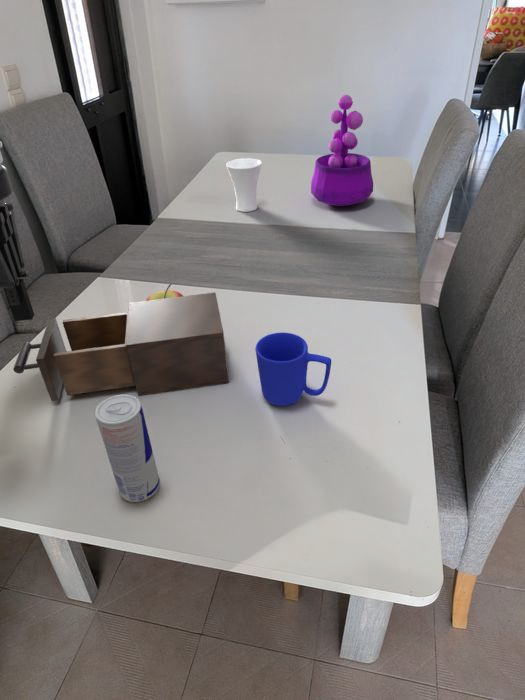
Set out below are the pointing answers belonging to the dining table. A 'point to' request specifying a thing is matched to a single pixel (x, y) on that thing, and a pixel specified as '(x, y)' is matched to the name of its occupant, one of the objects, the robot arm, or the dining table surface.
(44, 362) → the drawer
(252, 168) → the cup
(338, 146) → the decorative plant
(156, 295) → the apple
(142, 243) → the dining table surface
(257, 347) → the mug
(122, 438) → the beverage can
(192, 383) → the cabinet
